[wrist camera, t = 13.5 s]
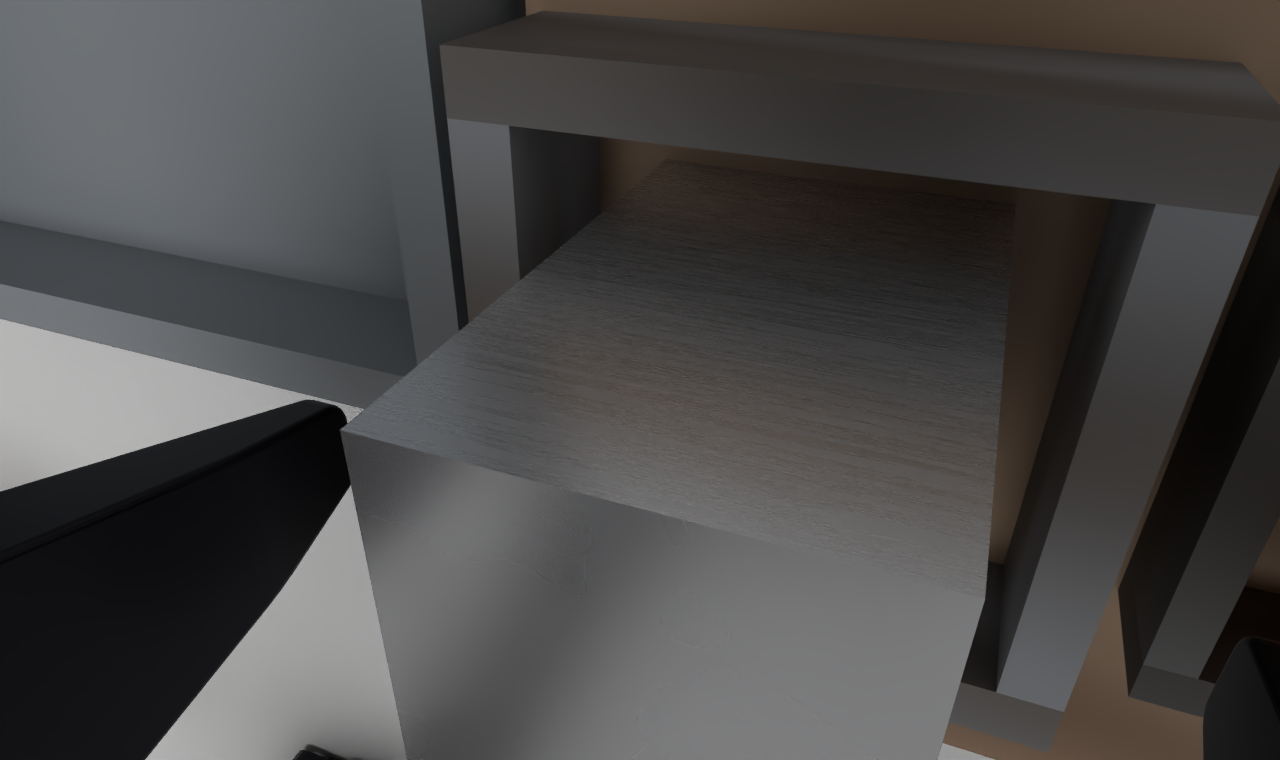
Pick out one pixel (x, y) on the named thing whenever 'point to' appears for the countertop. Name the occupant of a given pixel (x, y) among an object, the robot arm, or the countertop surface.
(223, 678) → the countertop surface
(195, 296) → the tote
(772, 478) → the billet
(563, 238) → the brown wood panel
